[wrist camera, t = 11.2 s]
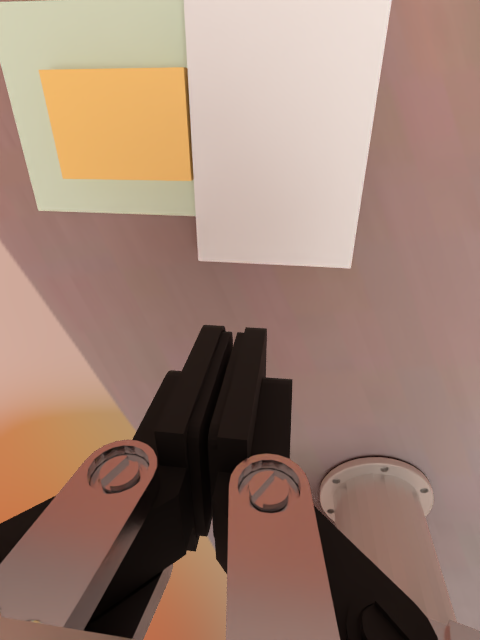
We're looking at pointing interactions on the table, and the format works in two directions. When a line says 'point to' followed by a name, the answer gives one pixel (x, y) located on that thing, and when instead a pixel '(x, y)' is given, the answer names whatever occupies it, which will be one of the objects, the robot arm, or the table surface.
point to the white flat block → (281, 125)
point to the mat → (88, 53)
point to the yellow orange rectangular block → (120, 122)
